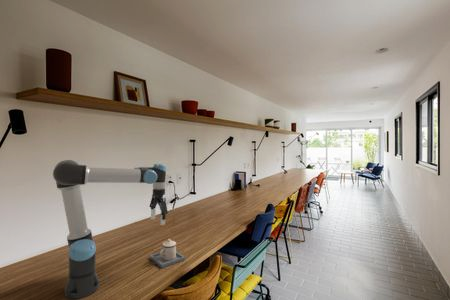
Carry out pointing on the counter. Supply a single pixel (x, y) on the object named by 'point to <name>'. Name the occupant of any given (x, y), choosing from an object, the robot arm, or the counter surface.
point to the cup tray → (165, 263)
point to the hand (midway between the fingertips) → (157, 221)
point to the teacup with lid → (168, 250)
